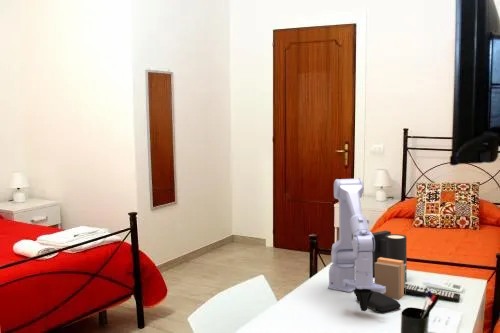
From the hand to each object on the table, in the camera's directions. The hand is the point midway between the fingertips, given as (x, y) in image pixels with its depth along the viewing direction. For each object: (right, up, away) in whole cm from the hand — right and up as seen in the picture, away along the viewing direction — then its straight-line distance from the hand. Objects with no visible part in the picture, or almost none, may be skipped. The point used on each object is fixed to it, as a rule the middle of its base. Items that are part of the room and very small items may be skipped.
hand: (364, 310), depth 172 cm
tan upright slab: (+14, +1, +18) cm, 23 cm away
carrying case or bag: (+6, -1, +8) cm, 10 cm away
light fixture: (+19, +3, +36) cm, 41 cm away
